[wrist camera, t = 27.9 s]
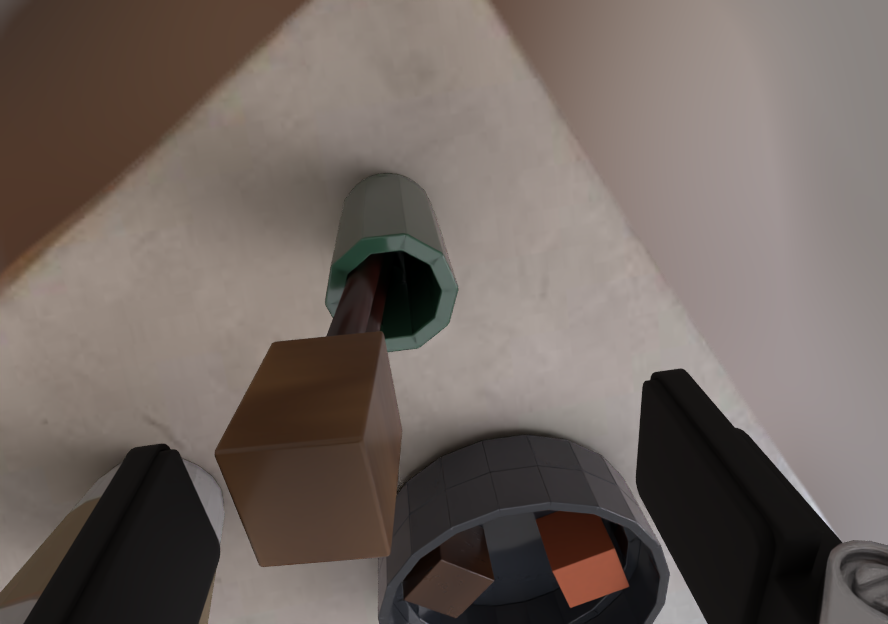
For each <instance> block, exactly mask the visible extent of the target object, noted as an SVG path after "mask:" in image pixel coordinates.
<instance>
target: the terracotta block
mask: <svg viewBox="0 0 888 624" xmlns="http://www.w3.org/2000/svg"><path fill="white" fill-rule="evenodd" d="M536 523H537V526H538V529H539V532H540V535H541V538H542V541H543V544H544V547H545V551H546V554H547V557H548V560H549V563H550V566H551V569H552V572H553V574H554V576H555V578H556V580H557V582H558V584H559V586H560V588H561V590H562V592H563V594H564V596H565V598H566V600H567V602H568V605H569V607H570V608H572V607H574V606H577V605H580V604H583V603H585V602H588V601H591V600H594V599H597V598H599V597H602V596H605V595H608V594H610V593H613V592H616V591H619V590H622V589H624V588H627V587H629V584H628V581H627V579H626V576H625V573H624V571H623V568H622V566H621V563H620V561H619V558H618V555H617V553H616V550H615V548H614V546H613V543H612V541H611V539H610V537H609V535H608V533H607V530H606V528H605V526H604V524H603V522H602V520H601V517H599V516H597V515H594V514H586V513H575V512H565V511H557V512H554V513H552V514H549V515H546V516H544V517H541V518H538V519H536Z"/></svg>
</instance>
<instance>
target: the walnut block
mask: <svg viewBox="0 0 888 624" xmlns="http://www.w3.org/2000/svg"><path fill="white" fill-rule="evenodd" d="M493 582H494V575H493V571H492V566H491V561H490V556H489V552H488V547H487V542H486V538H485V533H484V529H483V528H482V527H480V526H476V527H473V528H470V529H468V530H465V531H462V532H460V533H457V534H455V535H454V536H452V537H451V538H450V539H448V540H447V541H445V542H444V543H442V544H441V545H439V546H438V547H436V548H435V549H434V550H432V551H431V552H429V553H428V554H426V555H425V556H423V557H422V558H420V560H419V561H418V562H417V563H416V565H415V566H414V567H413V568H412V570H411V571H410V572H409V573H408V575H407V576H406V577H405V578H404V580H403V597H404V600H405V601H408V602H411V603H414V604H417V605H419V606H422V607H425V608H428V609H431V610H434V611H436V612H439V613H442V614H445V615H448V616H451V617H454V618H458V617H459V616H460V615H461V614H462V613H463V612H464V611H465V610H466V609H467V608H468V607H469V606H470V605H471V604H472V603H473V602H474V601H475V600H476V599H477V598H478V597H479V596H480V595H481V594H482V593H483V592H484V591H485V590H486V589H487V588H488V587H489V586H490V585H491V584H492V583H493Z"/></svg>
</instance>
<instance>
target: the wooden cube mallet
mask: <svg viewBox="0 0 888 624" xmlns="http://www.w3.org/2000/svg"><path fill="white" fill-rule="evenodd" d="M395 252H396V251H394V252H385V253H376V254H370V255H369V256H368V257H367V258H366V259H365V260H364V261H362V262H361V263H360V264H359V265H358V266H357V267H356V268H354V269H353V270H352V271H351V272H350V274H349V277H348V279H347V282H346V285H345V288H344V290H343V293H342V296H341V298H340V301H339V304H338V307H337V309H336V312H335V315H334V317H333V320H332V323H331V325H330V328H329V331H328V334H327V336H326V337H318V338H308V339H298V340H288V341H279V342H274V343H272V344H271V346H270V348H269V350H268V352H267V354H266V356H265V358H264V359H263V361H262V363H261V365H260V367H259V369H258V371H257V373H256V374H255V376H254V378H253V380H252V382H251V384H250V386H249V388H248V389H247V391H246V393H245V395H244V397H243V399H242V401H241V403H240V404H239V406H238V408H237V410H236V412H235V414H234V416H233V418H232V419H231V421H230V423H229V425H228V427H227V429H226V431H225V433H224V434H223V436H222V438H221V440H220V442H219V444H218V446H217V448H216V450H215V458H216V460H217V463H218V465H219V467H220V470H221V472H222V475H223V477H224V480H225V482H226V485H227V487H228V490H229V492H230V494H231V497H232V499H233V502H234V504H235V507H236V509H237V512H238V514H239V517H240V519H241V521H242V524H243V526H244V529H245V531H246V534H247V536H248V539H249V541H250V544H251V546H252V548H253V551H254V553H255V556H256V558H257V561H258V563H259V565H260V566H261V567H269V566H281V565H293V564H305V563H317V562H329V561H342V560H354V559H366V558H378V557H387V556H389V555H390V553H391V545H392V535H393V524H394V514H395V503H396V493H397V482H398V472H399V461H400V451H401V440H402V426H401V421H400V415H399V410H398V405H397V400H396V395H395V389H394V384H393V379H392V374H391V368H390V363H389V358H388V353H387V348H386V342H385V337H384V334H383V332H382V331H380V327H381V322H382V317H383V312H384V307H385V302H386V297H387V292H388V287H389V282H390V277H391V272H392V267H393V262H394V257H395Z"/></svg>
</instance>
